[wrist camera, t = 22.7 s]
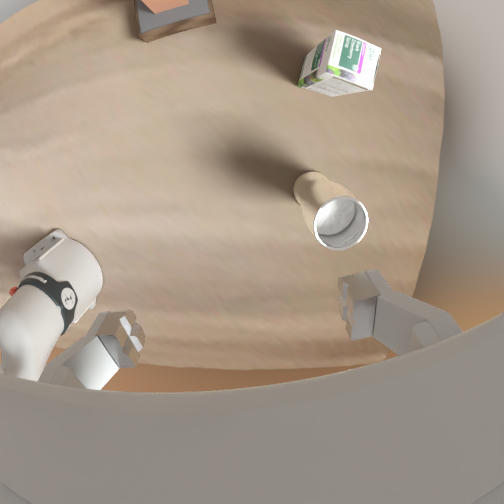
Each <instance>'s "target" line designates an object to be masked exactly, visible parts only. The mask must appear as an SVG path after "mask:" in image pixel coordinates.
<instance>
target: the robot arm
mask: <svg viewBox="0 0 504 504" xmlns="http://www.w3.org/2000/svg"><path fill="white" fill-rule="evenodd" d="M54 237H55V238H54ZM23 258H24V264H25V266H24V267H23V268H22V269H21V270H20V281H21V282H20V285H19V287H18V289H17V287H13V288H12V289H11V290H10V292H9V293H10V294H11V296H12V297H11V298H10V299H9V300H8V301H7V302H6V303H5V304H4V305H3V307H2V308H1V309H0V349H1V357H2V358H1V361H2V362H1V365H0V504H504V313H502V314H500V315H498V316H496V317H494V318H492V319H490V320H488V321H486V322H484V323H482V324H480V325H477V326H475V327H473V328H471V329H469V330H466V331H464V332H463V331H462V330H461V328H460V327H459V325H458V324H457V323H456V322H455V320H454V319H453V318H452V316H451V315H450V314H449V313H448V312H446V311H444V310H441V309H439V308H437V307H434V306H432V305H429V304H427V303H425V302H422V301H420V300H417V299H415V298H413V297H410V296H408V295H405V294H403V293H401V292H398V291H397V292H394V291H393V290H392V288H391V287H390V285H389V284H388V283H387V281H386V280H385V279H384V277H383V276H382V275H381V273H380V272H379V271H378V270H377V269H372V270H368V271H364V272H361V273H357V274H352V275H348V276H343V277H339V278H338V288H339V290H340V292H341V293H340V295H339V296H338V304H339V311H340V314H341V317H342V320H343V321H345V322H346V329H347V332H348V334H349V337H350V339H351V340H355V339H360V338H364V337H369V336H373V337H374V338H375V339H377V340H378V341H379V342H381V343H382V344H384V345H385V346H387V347H388V348H389V349H391V350H392V351H394V352H395V353H396V354H398V355H399V356H397V357H393V358H390V359H387V360H384V361H380V362H377V363H373V364H369V365H366V366H362V367H358V368H355V369H350V370H346V371H342V372H338V373H334V374H329V375H325V376H319V377H314V378H309V379H304V380H298V381H292V382H286V383H280V384H273V385H265V386H257V387H249V388H240V389H229V390H216V391H200V392H170V393H169V392H166V393H156V392H154V393H152V392H151V393H150V392H122V391H107V390H101V388H102V387H103V386H104V385H105V384H106V383H107V382H108V381H109V379H110V378H111V377H112V376H113V375H114V374H115V373H116V372H117V371H118V369H119V368H125V367H136V365H137V362H138V360H139V357H140V354H139V352H138V351H139V350H141V349H142V348H143V345H144V342H145V335H144V332H143V329H142V327H141V326H140V325H139V324H138V323H136V322H135V321H136V316H135V314H134V313H133V311H131V310H121V311H111V312H110V311H108V312H101V313H99V315H98V316H97V318H96V320H95V321H94V323H93V325H92V326H91V328H90V330H89V331H88V333H87V335H86V337H82V338H80V339H79V340H78V341H76V342H75V343H74V344H73V345H71V346H70V347H69V348H67V349H66V350H65V351H64V352H62V353H61V354H59V355H58V356H57V357H55V358H54V359H53V360H52V361H51V362H49V363H48V364H47V365H46V362H47V359H48V357H49V355H50V353H51V351H52V349H53V347H54V345H55V343H56V342H57V340H58V338H59V337H60V336H61V335H63V334H64V333H65V332H66V331H67V330H68V328H69V327H70V325H71V323H76V322H77V321H78V320H79V318H80V317H81V316H82V315H83V314H84V312H85V311H86V310H87V309H92V308H93V307H94V306H95V304H96V297H97V295H98V294H99V292H100V290H101V288H102V284H103V277H102V272H101V269H100V266H99V264H98V262H97V260H96V259H95V257H94V256H93V254H92V253H91V252H90V251H89V250H88V249H87V248H86V247H85V246H83V245H82V244H81V243H79V242H77V241H75V240H73V239H70V238H69V237H68V236H67V235H66V234H65V233H63V232H62V231H61V230H60V229H56V230H54V231H53V232H51V233H50V234H49V235H47V236H46V237H45V238H43V239H42V240H40V241H39V242H38V243H37V244H35V245H34V246H33V247H31V248H30V249H29V250H27V251H26V252H25V253H24V255H23ZM45 365H46V367H45Z"/></svg>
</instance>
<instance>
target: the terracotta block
mask: <svg viewBox="0 0 504 504" xmlns="http://www.w3.org/2000/svg"><path fill="white" fill-rule="evenodd" d="M141 1H142V2H143V3H144V4H145V5H146V6H147V7H148V8H149V9H150V10H151V11H152V12H153V13H154V14H157V13H160V12H163V11H166V10H170V9H173V8H176V7H180V6H183V5H187V4H189V1H188V0H141Z"/></svg>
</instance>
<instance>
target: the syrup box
mask: <svg viewBox="0 0 504 504" xmlns="http://www.w3.org/2000/svg"><path fill="white" fill-rule="evenodd" d="M380 54H381V48H379V47H377V46H375V45H373V44H370V43H368V42H366V41H364V40H362V39H360V38H357V37H355V36H352V35H349V34H347V33H344V32H341V31H338V30H335V31H333V32H332V33H331V34H330V35H329V36H327V37H326V38H325V39H324V40H323V41H322V42H320V43H319V44H318V45H317V46H316V47H315V48H314V49H313V50H311V51H310V52H309V53H308V54H307V55H306V57H305V60H304V63H303V66H302V70H301V74H300V79H299V83H298V87H301V88H304V89H308V90H312V91H315V92H319V93H322V94H325V95H328V96H331V97H334V96H339V95H344V94H350V93H355V92H361V91H368V90H373V84H374V80H375V76H376V73H377V69H378V65H379V59H380Z"/></svg>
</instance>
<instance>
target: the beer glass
mask: <svg viewBox="0 0 504 504" xmlns="http://www.w3.org/2000/svg"><path fill="white" fill-rule="evenodd" d="M293 192H294V196H295V199H296V200H297V202H298V203H299V204H300V205H301V208H302V214H303V218H304V220H305V222H306V225H307V226H308V228H309V230H310V231H311V232H312V234H313V235H314V236H315V238H316V239H317V241H318V242H319V243H320V244H321V245H322V246H323V247H325V248H327V249H330V250H334V251H341V250H346V249H349V248H351V247H353V246H354V245H356V244H357V243H358V242H359V241H360V240H361V239H362V237H363V236H364V234H365V232H366V230H367V226H368V215H367V211H366V209H365V207H364V206H363V204H362V203H361V202H360V201H359V200H358V199H357V198H356V197H355V196H354V195H353V194H352V193H351V192H350V191H349V190H348V189H346V188H345V187H343V186H341V185H340V184H337V183H334V182H331V181H329V180H328V179H327V178H326V177H325V176H324V175H323V174H321V173H319V172H315V171H310V172H306V173H304V174H302V175H301V176H300V177H299V178H298V179H297V180H296V182H295V184H294V189H293Z"/></svg>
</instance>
